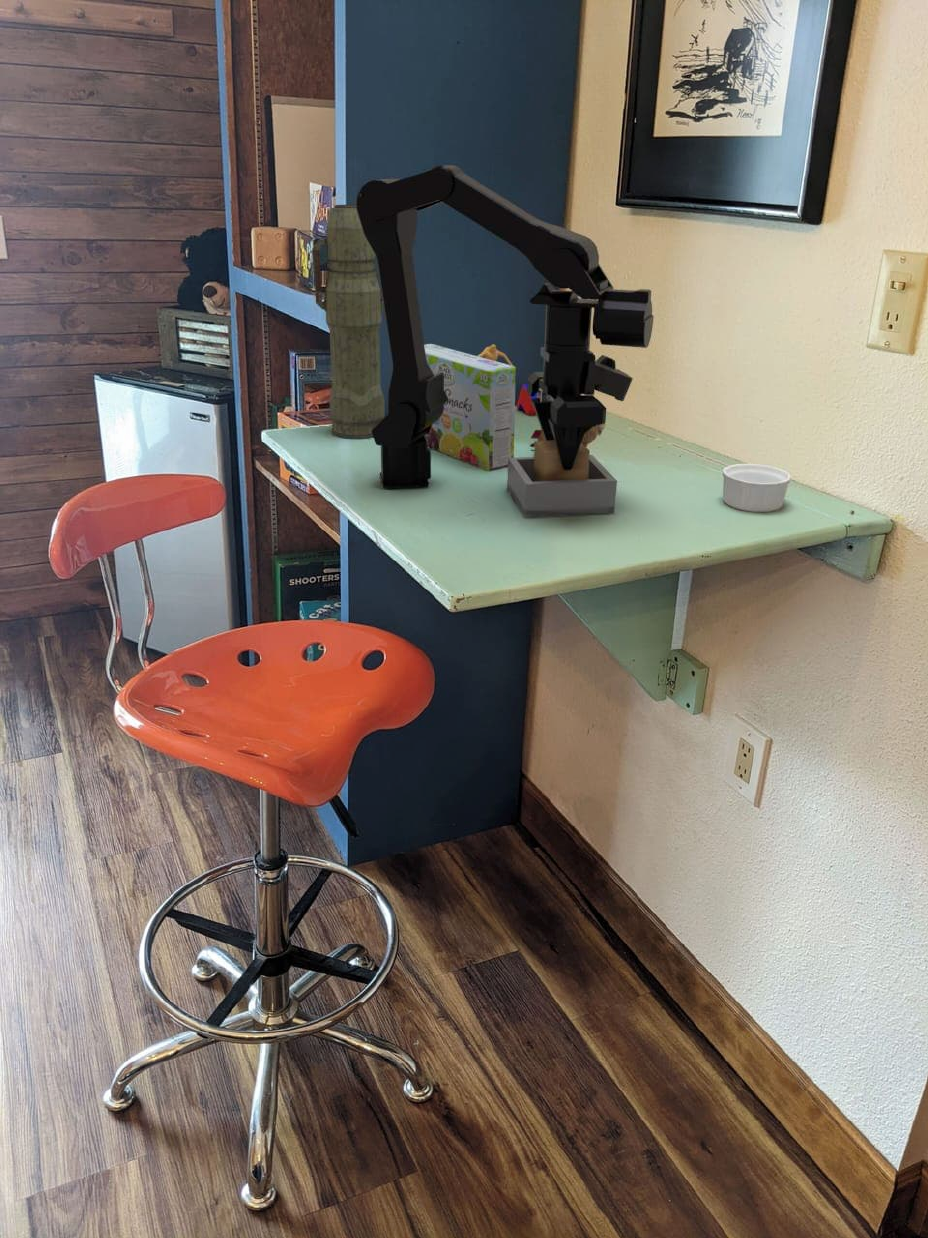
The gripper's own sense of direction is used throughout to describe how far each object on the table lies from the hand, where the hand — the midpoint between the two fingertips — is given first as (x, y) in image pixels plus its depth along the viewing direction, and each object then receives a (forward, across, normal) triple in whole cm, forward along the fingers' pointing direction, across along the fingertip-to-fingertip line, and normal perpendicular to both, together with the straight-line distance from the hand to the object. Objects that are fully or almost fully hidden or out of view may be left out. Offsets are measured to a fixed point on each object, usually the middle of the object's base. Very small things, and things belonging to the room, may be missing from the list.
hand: (560, 461), depth 134 cm
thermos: (+6, +39, +25) cm, 47 cm away
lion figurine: (+6, +19, -5) cm, 20 cm away
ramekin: (+6, -4, -26) cm, 27 cm away
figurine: (+6, +49, 0) cm, 49 cm away
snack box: (+6, +25, +10) cm, 28 cm away
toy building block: (+6, +49, -7) cm, 50 cm away
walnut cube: (+4, 0, 0) cm, 4 cm away
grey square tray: (+6, 0, 0) cm, 6 cm away
